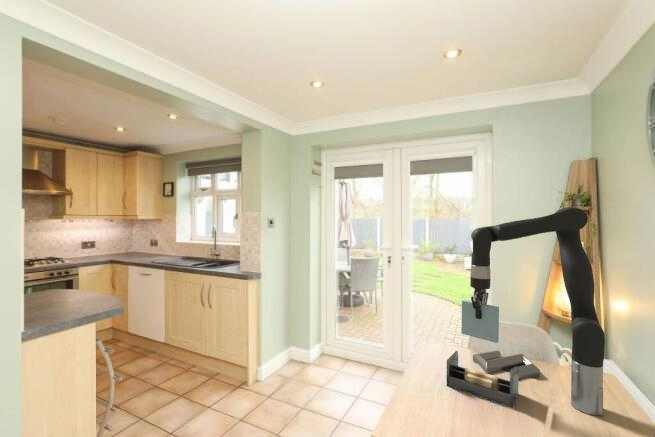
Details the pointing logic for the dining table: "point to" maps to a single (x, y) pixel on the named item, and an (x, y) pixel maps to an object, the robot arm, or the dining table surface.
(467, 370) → the offcut long
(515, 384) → the rack
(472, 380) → the offcut short
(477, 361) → the emblem
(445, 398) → the dining table surface
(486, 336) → the blue sheet
